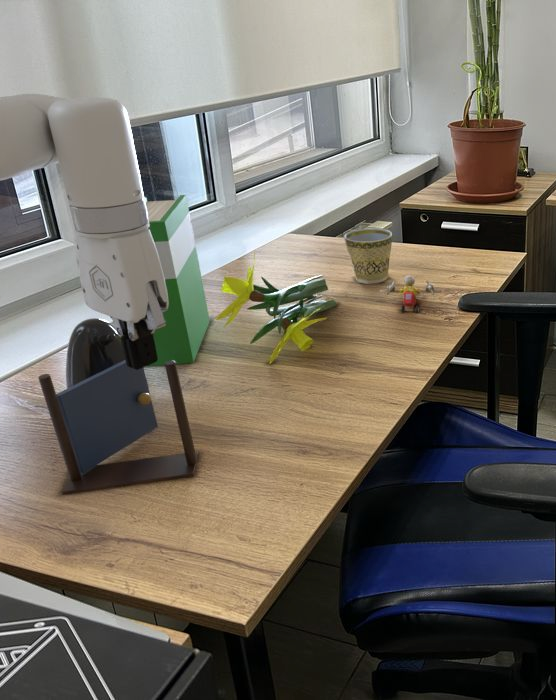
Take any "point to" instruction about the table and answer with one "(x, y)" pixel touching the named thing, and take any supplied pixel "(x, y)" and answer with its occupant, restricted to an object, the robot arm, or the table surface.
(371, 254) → the ceramic cup
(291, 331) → the daffodil flowers
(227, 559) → the table surface
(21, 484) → the table surface
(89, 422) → the door
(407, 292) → the toy airplane
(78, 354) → the dark grey rounded dome
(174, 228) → the hardback book
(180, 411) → the door frame
